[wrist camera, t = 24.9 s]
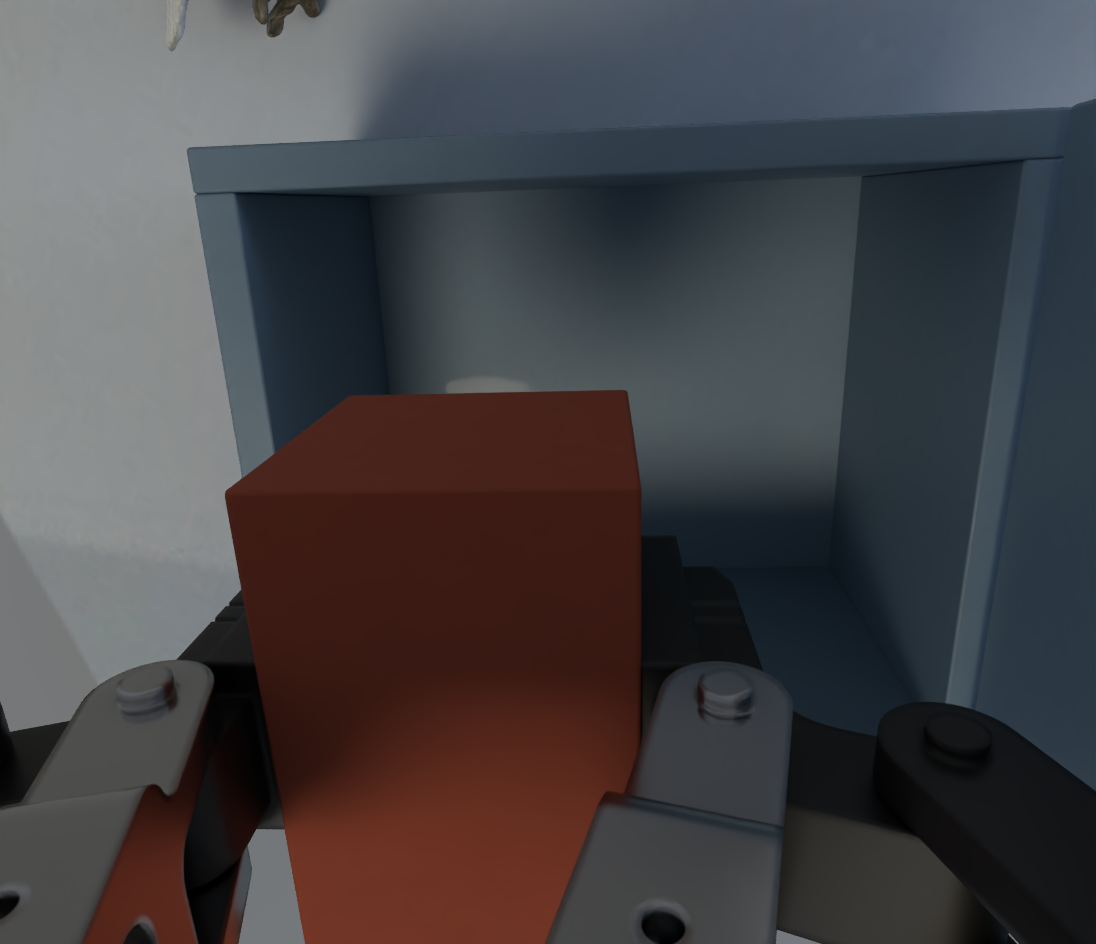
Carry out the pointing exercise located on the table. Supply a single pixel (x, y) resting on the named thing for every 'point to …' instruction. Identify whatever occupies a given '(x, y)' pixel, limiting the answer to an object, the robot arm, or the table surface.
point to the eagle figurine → (274, 20)
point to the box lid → (1054, 498)
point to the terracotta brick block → (445, 654)
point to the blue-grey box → (693, 342)
